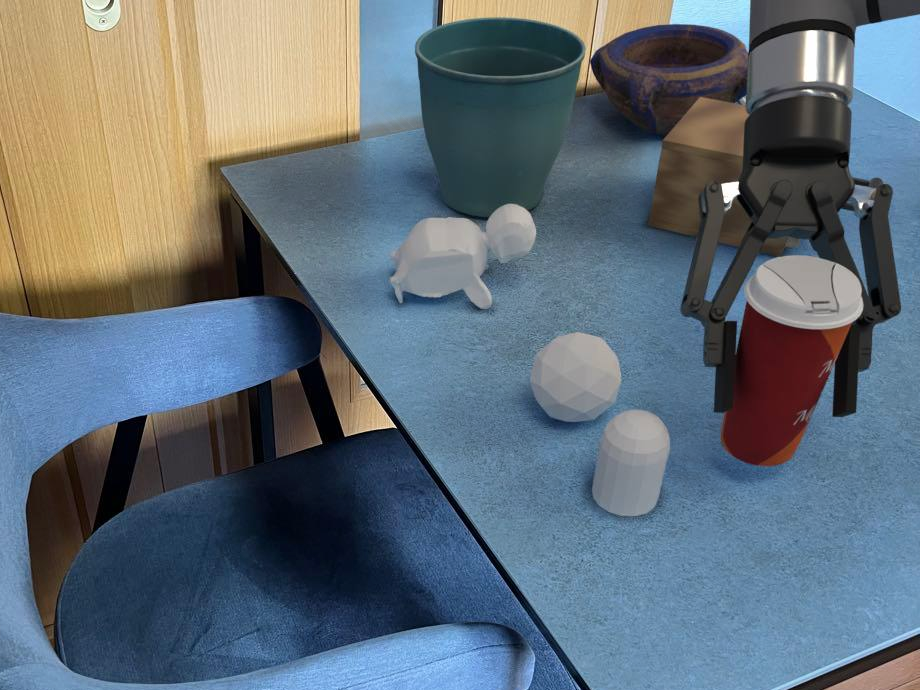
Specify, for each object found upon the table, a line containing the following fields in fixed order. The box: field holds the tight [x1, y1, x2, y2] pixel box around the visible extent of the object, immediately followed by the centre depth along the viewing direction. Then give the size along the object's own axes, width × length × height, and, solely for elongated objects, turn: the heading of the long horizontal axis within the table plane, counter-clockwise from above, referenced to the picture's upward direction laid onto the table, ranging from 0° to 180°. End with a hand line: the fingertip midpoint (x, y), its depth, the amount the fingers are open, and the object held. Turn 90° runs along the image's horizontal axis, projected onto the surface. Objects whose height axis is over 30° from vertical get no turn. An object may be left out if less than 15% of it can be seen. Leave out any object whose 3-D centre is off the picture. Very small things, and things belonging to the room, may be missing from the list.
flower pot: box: [414, 16, 587, 218], centre depth 115 cm, size 18×18×17 cm
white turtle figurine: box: [389, 204, 537, 310], centre depth 104 cm, size 9×8×15 cm
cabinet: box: [647, 97, 787, 257], centre depth 113 cm, size 15×13×10 cm
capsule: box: [591, 409, 671, 517], centre depth 81 cm, size 5×5×8 cm
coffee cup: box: [720, 254, 863, 467], centre depth 79 cm, size 8×8×15 cm
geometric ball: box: [529, 331, 622, 423], centre depth 89 cm, size 8×8×8 cm
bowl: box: [589, 23, 749, 137], centre depth 131 cm, size 18×18×10 cm
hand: (783, 412), depth 78 cm, fingers closed on coffee cup, 8 cm apart
